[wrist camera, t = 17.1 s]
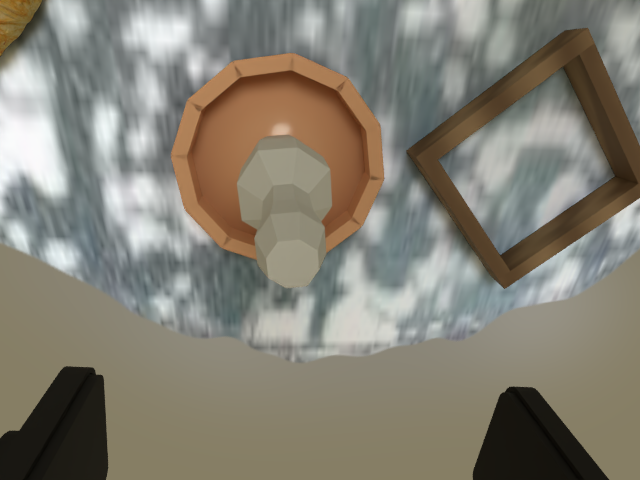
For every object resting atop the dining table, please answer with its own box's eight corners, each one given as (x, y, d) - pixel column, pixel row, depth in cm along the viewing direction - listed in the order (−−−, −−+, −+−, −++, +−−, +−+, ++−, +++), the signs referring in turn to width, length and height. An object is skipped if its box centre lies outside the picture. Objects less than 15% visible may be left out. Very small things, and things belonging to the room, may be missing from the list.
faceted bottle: (238, 185, 39) (203, 314, 19) (254, 114, 37) (233, 174, 17) (307, 202, 41) (342, 339, 20) (325, 134, 39) (386, 211, 18)
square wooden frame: (564, 30, 38) (587, 27, 36) (633, 178, 44) (657, 186, 41) (406, 150, 41) (416, 157, 38) (490, 275, 47) (504, 289, 44)
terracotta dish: (295, 10, 36) (298, 5, 32) (408, 174, 42) (420, 183, 38) (140, 143, 38) (128, 150, 35) (268, 279, 44) (267, 296, 41)
